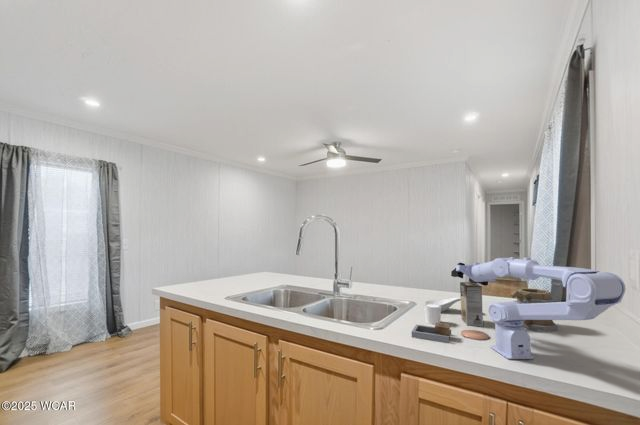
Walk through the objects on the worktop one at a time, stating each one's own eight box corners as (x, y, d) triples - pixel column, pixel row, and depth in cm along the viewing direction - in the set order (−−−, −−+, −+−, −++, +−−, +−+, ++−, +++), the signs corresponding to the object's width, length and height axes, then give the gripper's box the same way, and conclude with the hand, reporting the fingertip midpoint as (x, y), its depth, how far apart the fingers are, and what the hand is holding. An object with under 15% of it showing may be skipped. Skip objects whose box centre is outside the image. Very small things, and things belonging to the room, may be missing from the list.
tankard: (531, 319, 126) (529, 284, 127) (564, 328, 114) (561, 289, 115) (497, 325, 119) (495, 287, 120) (528, 335, 107) (526, 293, 108)
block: (450, 337, 106) (449, 324, 107) (448, 341, 102) (448, 327, 103) (436, 335, 109) (436, 322, 109) (435, 339, 105) (434, 326, 105)
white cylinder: (423, 323, 122) (422, 306, 122) (425, 319, 128) (425, 302, 128) (440, 325, 119) (440, 308, 119) (442, 321, 125) (442, 304, 125)
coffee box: (460, 319, 128) (459, 281, 129) (476, 319, 126) (475, 282, 127) (466, 325, 119) (465, 285, 120) (484, 326, 117) (482, 286, 118)
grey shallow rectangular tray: (451, 334, 108) (451, 329, 108) (449, 343, 100) (448, 337, 101) (416, 329, 114) (416, 324, 114) (411, 337, 106) (411, 331, 106)
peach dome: (494, 339, 103) (494, 338, 103) (468, 340, 103) (468, 338, 103) (480, 331, 112) (479, 329, 112) (456, 331, 112) (456, 329, 112)
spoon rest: (423, 312, 139) (423, 297, 140) (424, 306, 150) (424, 292, 151) (480, 317, 131) (479, 301, 131) (476, 310, 141) (476, 295, 142)
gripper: (504, 266, 104) (478, 272, 117) (468, 254, 103) (445, 261, 116) (504, 285, 102) (477, 289, 114) (466, 273, 100) (443, 278, 113)
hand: (461, 276), depth 115 cm, fingers open, 7 cm apart
